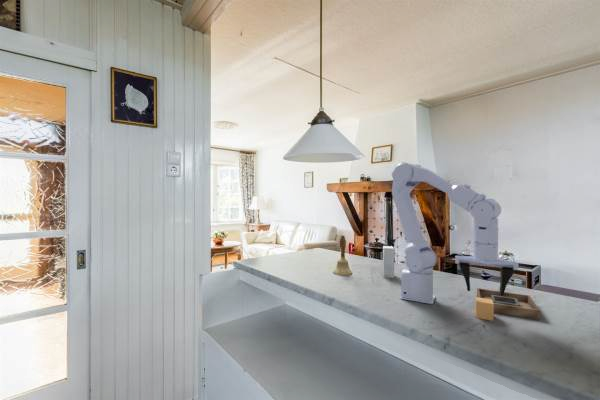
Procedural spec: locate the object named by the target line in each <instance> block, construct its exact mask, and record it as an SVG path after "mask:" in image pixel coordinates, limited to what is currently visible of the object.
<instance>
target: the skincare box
mask: <svg viewBox="0 0 600 400" xmlns="http://www.w3.org/2000/svg"><path fill="white" fill-rule="evenodd" d="M381 270H382V277H383V278H387V279H395V248H394V246H392V245H391V246H388V245H383V246H382V269H381Z"/></svg>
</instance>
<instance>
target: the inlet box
mask: <svg viewBox="0 0 600 400" xmlns="http://www.w3.org/2000/svg"><path fill="white" fill-rule="evenodd" d="M476 297H478V298H485V299H492V300H493V303H494V313H496V314H503V315H509V316H515V317H520V318H526V319H533V320H538V321H541V310H540V308H539V307H538V306H537V304H536V303H535V301H534V300H533V298H532V297H531V295H529V294H528V295H527V294H524V293H523V294H521V293H516V292H515V293H513V292H508V291H504V296H501V295H500V290H494V289H493V290H492V289H485V288H480V287H477V288H476Z"/></svg>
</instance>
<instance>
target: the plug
mask: <svg viewBox="0 0 600 400" xmlns="http://www.w3.org/2000/svg"><path fill="white" fill-rule="evenodd" d="M474 312H475V318H477V319H482V320H488V321H492V322H493V321H494V315H495V314H494V313H495V312H494V303H493V300H492V299H485V298H478V297H477V296H475V311H474Z"/></svg>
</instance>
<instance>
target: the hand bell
mask: <svg viewBox="0 0 600 400" xmlns="http://www.w3.org/2000/svg"><path fill="white" fill-rule="evenodd" d="M339 247H340V258H339V259H337V263H336V267H335V268H334V269H333V271H332V273H333V274H335V275H338V276H351V275H352V274H353V271H352V269H350V267H349V260H348V259H346V255H345V253H346V252H345V251H346V247H347V241H346V236H345V235H341V236H340V239H339Z"/></svg>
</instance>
